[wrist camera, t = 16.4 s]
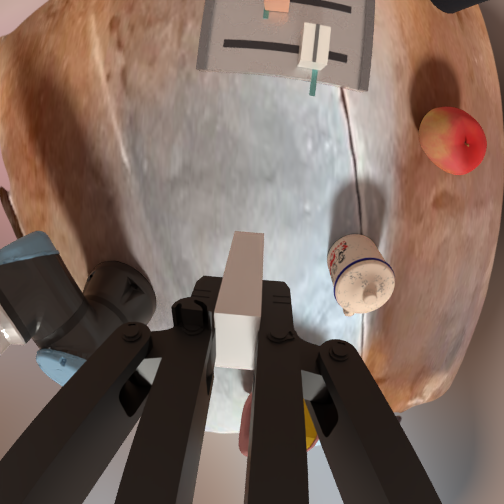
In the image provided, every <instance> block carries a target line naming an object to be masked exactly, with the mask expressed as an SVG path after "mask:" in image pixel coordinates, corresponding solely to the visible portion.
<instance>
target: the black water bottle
mask: <svg viewBox="0 0 504 504" xmlns="http://www.w3.org/2000/svg"><path fill="white" fill-rule="evenodd" d="M485 1H488V0H431V2H432V3H433V4H434V5H435V6H436V7H437V8H438V9H440V10H442V11H443V12H446V13H455V12H457V11H460V10H462V9H465V8H468V7H470V6H473V5H476V4H479V3H482V2H485Z"/></svg>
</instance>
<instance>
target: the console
mask: <svg viewBox="0 0 504 504" xmlns="http://www.w3.org/2000/svg"><path fill="white" fill-rule="evenodd" d="M374 14H375V0H290V3H289V12H288V13H287V12H279V11H268V10H265V6H264V0H205V6H204V13H203V19H202V26H201V33H200V40H199V48H198V56H197V65H196V69H197V70H199V71H201V72H218V73H239V74H253V75H264V76H273V77H281V78H289V79H296V80H302V81H308V82H311V85H310V93H309V95H310V96H315V90H316V83H320V84H325V85H330V86H335V87H339V88H344V89H348V90H352V91H356V92H360V93H361V92H366V91H368V86H369V77H370V68H371V58H372V46H373V32H374ZM305 22H306V23H312V24H320V25H323V26H328V27H331V33H330V43H329V53H328V62H327V65H326V66H325V67H324V68H323V69H322V70H321V71H320V70H315V69H309V68H303V67H297V65H298V56H299V47H300V38H301V32H302V29H303V26H304V23H305Z"/></svg>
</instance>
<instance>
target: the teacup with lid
mask: <svg viewBox="0 0 504 504" xmlns="http://www.w3.org/2000/svg"><path fill="white" fill-rule="evenodd" d="M327 264H328V268H329V271H330V275H331V279H332V282H333V286H334V296H335V299H336V301H337V302H338V304H339V305H340V306H341V307H342V308H343V312H344V314H345V315H346V316H352V315H354V313H367V312H371V311H374V310H376V309H378V308H379V307H381V306H382V305H383V304H384V303H385V302H386V301H387V300H388V299H389V298H390V296H391V294H392V292H393V290H394V286H395V276H394V272H393V270H392V268H391V267H390V265H389V264H388V263H386V261H385V260H384V258H383V257H382V255H381V253H380V252H379V250H378V249H377V247H376V245H375V244H374V243H373V241H372V240H371V239H369V238H368V237H366V236H364V235H360V234H351V235H347V236H344V237H342V238H341V239H339V240H338V241H336V242H335V243H334V245H333V246H332V247H331V249H330V251H329V253H328V257H327Z"/></svg>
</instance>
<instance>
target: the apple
mask: <svg viewBox="0 0 504 504" xmlns="http://www.w3.org/2000/svg"><path fill="white" fill-rule="evenodd" d="M419 142H420V145H421V147H422V149H423V151H424V152H425V154H426V155H427V156H428V157H429V159H430V160H431V161H432V162H433V163H434V164H435V165H437V166H438V167H439V168H441V169H442V170H444V171H446V172H448V173H451V174H455V175H463V174H467V173H469V172H471V171H472V170H473V169H475V168H476V167H477V166H478V165H479V164H480V163H481V162H482V160H483V158H484V156H485V152H486V148H487V141H486V137H485V134H484V131H483V129H482V127H481V126H480V124H479V123H478V122H477V121H476V120H475V119H474V118H473V117H472V116H471V115H469V114H468V113H466V112H465V111H463V110H461V109H458V108H454V107H438V108H435V109H432V110H430V111H429V112H428V113H427V114H426V115H425V116H424V118H423V120H422V122H421V124H420V128H419Z"/></svg>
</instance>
